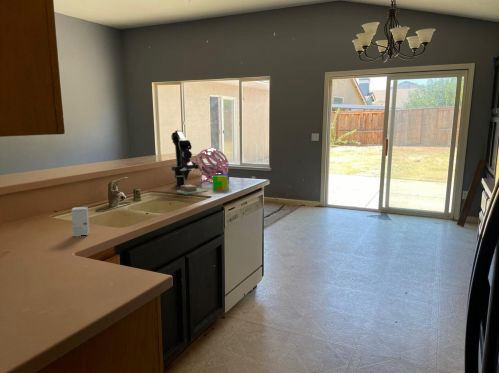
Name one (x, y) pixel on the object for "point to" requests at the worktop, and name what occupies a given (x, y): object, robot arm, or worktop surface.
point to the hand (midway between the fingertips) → (185, 179)
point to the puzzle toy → (221, 182)
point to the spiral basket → (216, 167)
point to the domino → (188, 188)
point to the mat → (192, 191)
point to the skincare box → (80, 221)
